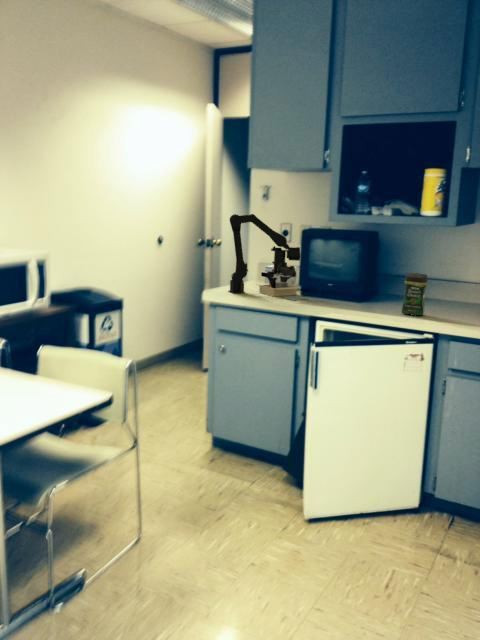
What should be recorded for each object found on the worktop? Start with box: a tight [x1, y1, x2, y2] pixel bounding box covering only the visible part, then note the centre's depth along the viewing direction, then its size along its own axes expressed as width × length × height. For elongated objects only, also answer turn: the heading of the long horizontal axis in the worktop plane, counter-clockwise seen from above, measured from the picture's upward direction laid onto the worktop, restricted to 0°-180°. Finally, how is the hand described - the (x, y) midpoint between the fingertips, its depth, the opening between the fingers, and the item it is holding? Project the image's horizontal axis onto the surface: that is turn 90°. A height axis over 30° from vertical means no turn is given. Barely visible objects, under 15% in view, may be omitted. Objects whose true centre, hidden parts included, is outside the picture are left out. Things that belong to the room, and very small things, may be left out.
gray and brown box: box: [269, 281, 288, 288], centre depth 320 cm, size 5×9×6 cm, turn 34°
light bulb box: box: [264, 264, 280, 284], centre depth 352 cm, size 11×7×11 cm, turn 136°
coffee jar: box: [401, 272, 428, 316], centre depth 275 cm, size 10×8×19 cm
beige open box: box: [256, 283, 300, 297], centre depth 320 cm, size 15×18×4 cm
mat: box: [281, 295, 310, 302], centre depth 307 cm, size 10×9×1 cm
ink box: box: [280, 265, 298, 287], centre depth 341 cm, size 9×5×12 cm, turn 73°
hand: (278, 290), depth 320 cm, fingers closed on gray and brown box, 5 cm apart
